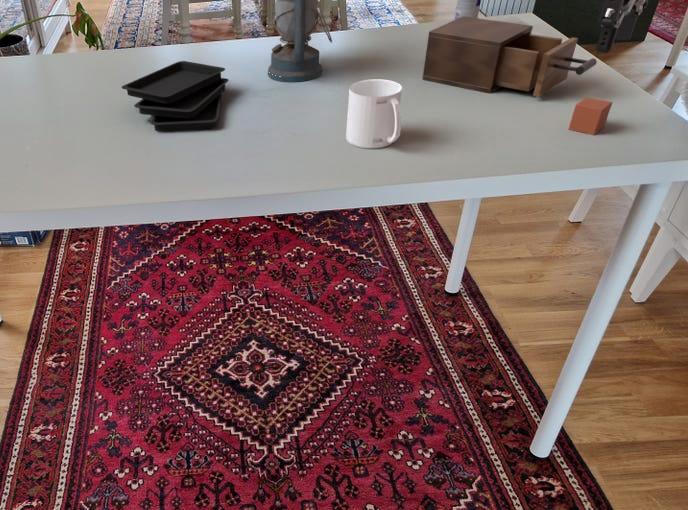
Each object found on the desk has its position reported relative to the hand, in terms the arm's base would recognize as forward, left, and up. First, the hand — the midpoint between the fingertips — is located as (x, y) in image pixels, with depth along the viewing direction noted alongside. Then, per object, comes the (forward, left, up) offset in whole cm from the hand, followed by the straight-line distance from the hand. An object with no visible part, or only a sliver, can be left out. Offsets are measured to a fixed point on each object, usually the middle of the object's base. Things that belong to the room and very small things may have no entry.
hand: (612, 45), depth 107 cm
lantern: (+64, +4, -14) cm, 66 cm away
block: (0, 0, -14) cm, 14 cm away
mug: (+27, +27, -14) cm, 41 cm away
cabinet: (+30, -14, -14) cm, 36 cm away
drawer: (+17, -14, -13) cm, 25 cm away
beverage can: (+48, -43, -14) cm, 66 cm away
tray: (+71, +36, -14) cm, 81 cm away
